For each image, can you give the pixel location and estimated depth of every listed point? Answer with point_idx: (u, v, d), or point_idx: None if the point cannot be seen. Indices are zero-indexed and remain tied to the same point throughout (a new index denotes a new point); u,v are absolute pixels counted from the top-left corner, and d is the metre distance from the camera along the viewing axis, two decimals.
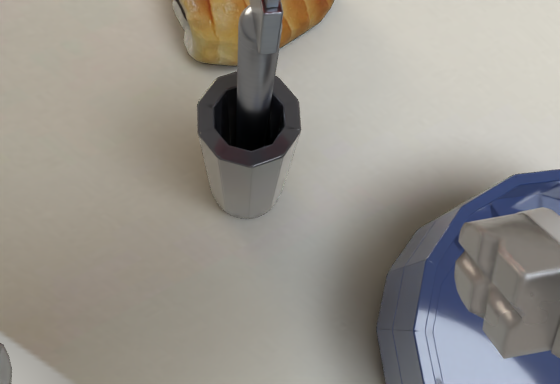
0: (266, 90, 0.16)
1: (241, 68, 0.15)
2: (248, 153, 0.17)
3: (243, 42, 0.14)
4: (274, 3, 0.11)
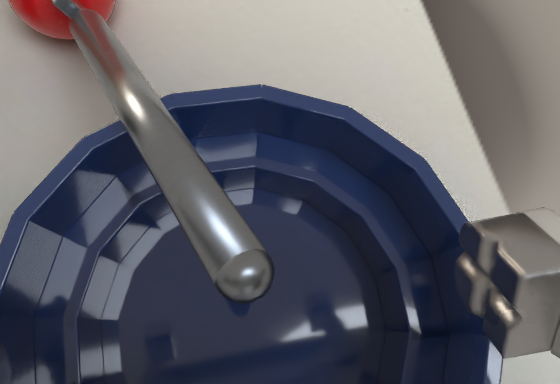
0: (101, 42, 0.15)
1: (82, 52, 0.16)
2: None
3: (72, 34, 0.17)
4: None
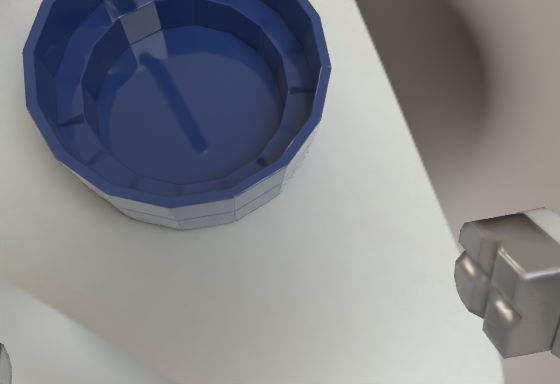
0: None
1: None
2: None
3: None
4: None
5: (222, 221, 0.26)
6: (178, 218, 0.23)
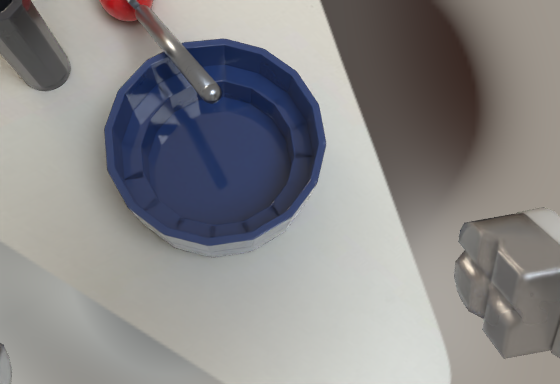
0: (153, 19, 0.34)
1: (142, 24, 0.35)
2: None
3: (136, 16, 0.35)
4: None
5: (242, 251, 0.35)
6: (212, 251, 0.32)
